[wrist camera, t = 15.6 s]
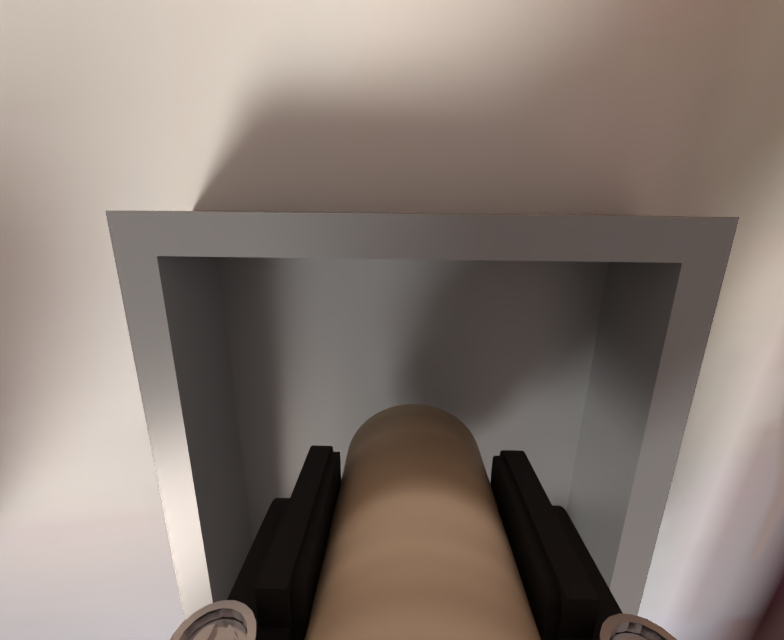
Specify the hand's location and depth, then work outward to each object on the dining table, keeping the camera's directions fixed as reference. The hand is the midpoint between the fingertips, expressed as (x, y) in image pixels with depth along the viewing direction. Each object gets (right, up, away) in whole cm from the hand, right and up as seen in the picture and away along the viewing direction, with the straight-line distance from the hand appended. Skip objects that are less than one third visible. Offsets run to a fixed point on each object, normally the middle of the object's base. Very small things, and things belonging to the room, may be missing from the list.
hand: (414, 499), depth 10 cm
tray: (0, +1, +4) cm, 4 cm away
